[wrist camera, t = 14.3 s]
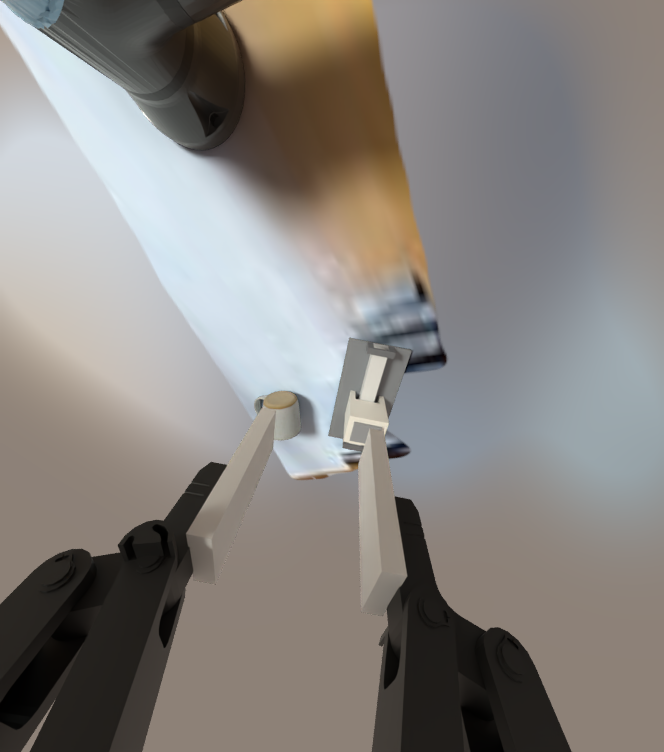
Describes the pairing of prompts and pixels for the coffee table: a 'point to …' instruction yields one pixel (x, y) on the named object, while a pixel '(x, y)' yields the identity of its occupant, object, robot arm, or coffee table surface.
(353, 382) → the rail base
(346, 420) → the module
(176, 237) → the coffee table surface
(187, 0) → the robot arm
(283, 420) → the ceramic mug
